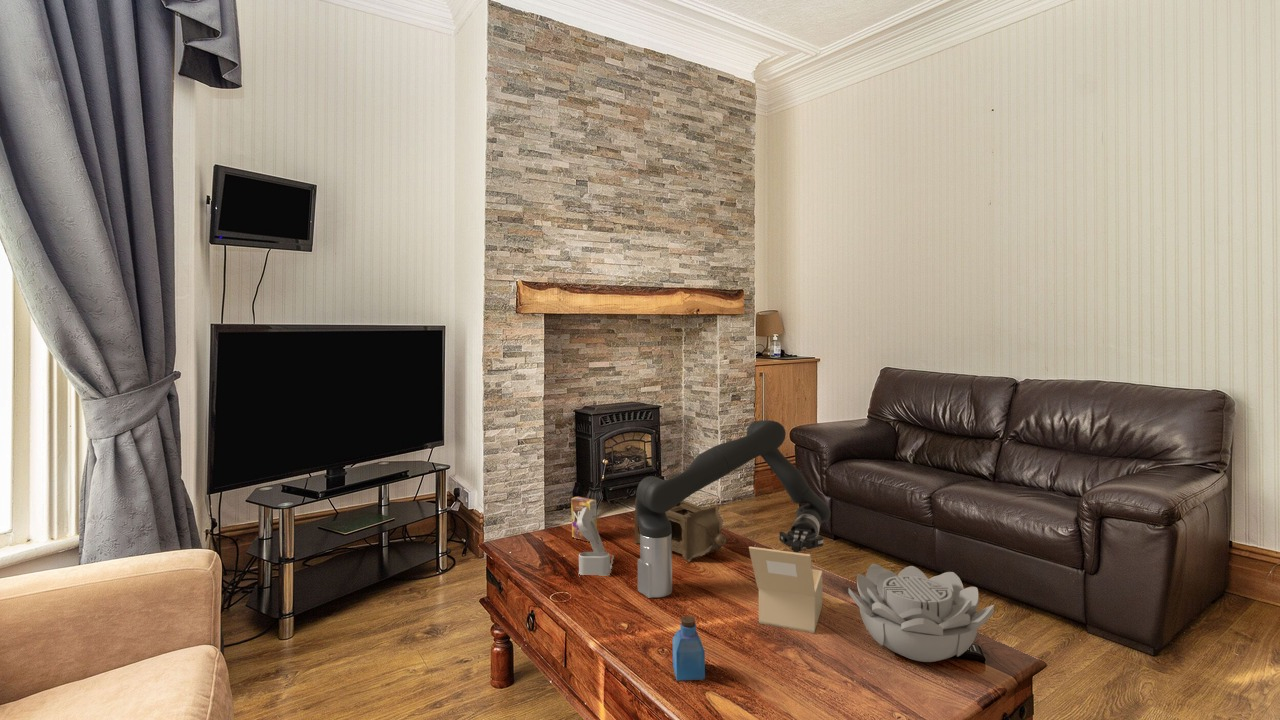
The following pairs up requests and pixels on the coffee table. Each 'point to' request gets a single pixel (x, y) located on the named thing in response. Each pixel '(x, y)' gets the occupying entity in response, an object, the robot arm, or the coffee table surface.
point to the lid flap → (783, 571)
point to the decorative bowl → (919, 612)
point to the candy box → (577, 507)
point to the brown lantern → (692, 530)
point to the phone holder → (599, 558)
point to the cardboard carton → (791, 607)
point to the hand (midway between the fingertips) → (796, 548)
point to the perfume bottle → (688, 652)
